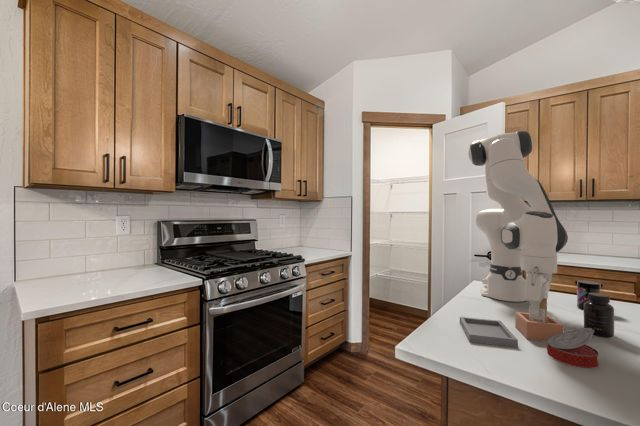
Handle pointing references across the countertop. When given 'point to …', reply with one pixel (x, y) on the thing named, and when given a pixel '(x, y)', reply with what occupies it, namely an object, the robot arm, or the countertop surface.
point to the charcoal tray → (488, 332)
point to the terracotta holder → (537, 327)
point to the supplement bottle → (599, 315)
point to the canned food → (573, 348)
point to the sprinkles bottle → (543, 311)
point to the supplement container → (586, 291)
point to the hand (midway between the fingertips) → (537, 311)
